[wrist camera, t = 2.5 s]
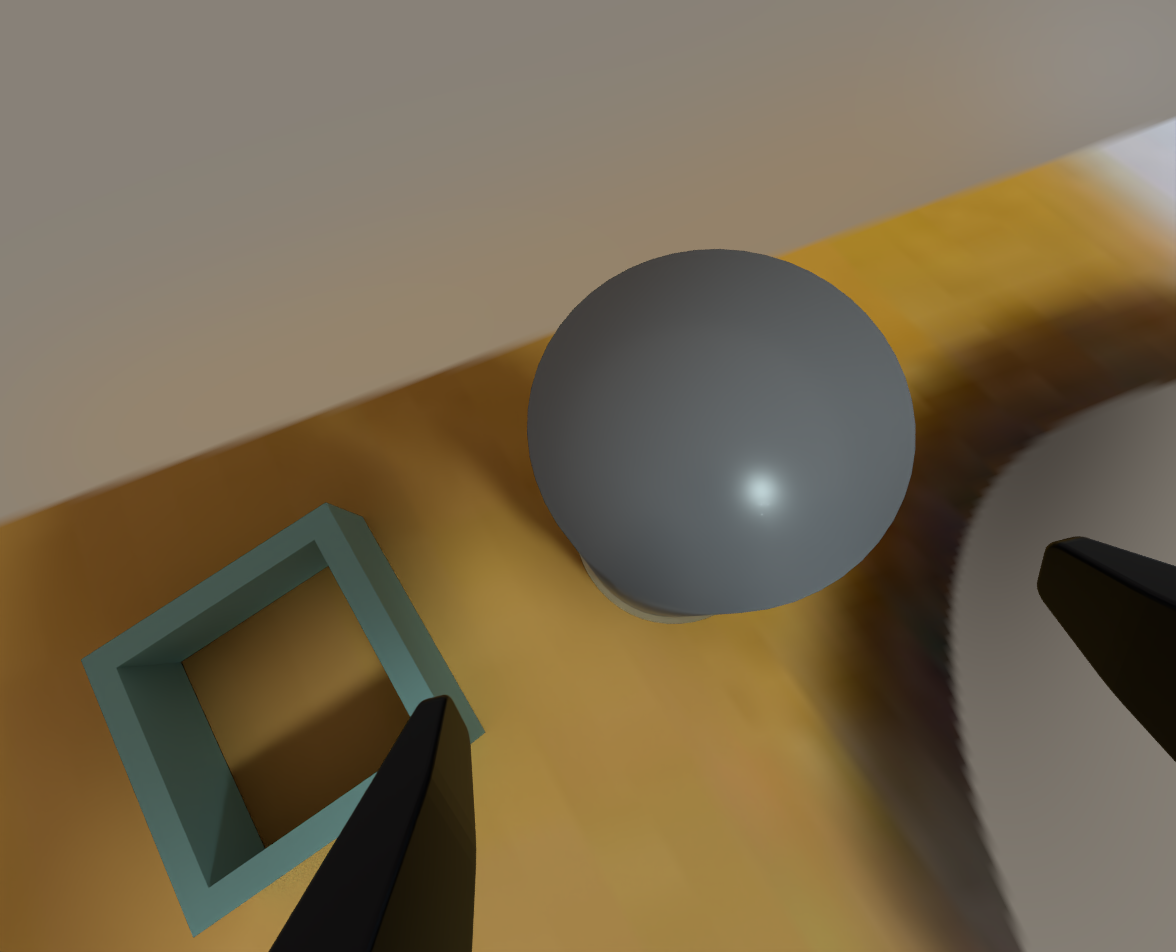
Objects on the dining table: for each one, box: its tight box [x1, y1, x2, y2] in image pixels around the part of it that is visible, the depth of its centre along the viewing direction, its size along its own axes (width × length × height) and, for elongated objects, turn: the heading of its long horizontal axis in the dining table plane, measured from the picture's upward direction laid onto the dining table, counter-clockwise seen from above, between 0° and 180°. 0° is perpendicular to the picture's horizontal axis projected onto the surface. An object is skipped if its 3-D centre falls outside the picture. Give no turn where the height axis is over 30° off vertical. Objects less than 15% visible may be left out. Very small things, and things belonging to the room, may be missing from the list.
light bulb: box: [527, 249, 915, 624], centre depth 13 cm, size 5×5×12 cm
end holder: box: [81, 503, 485, 938], centre depth 17 cm, size 8×8×2 cm
